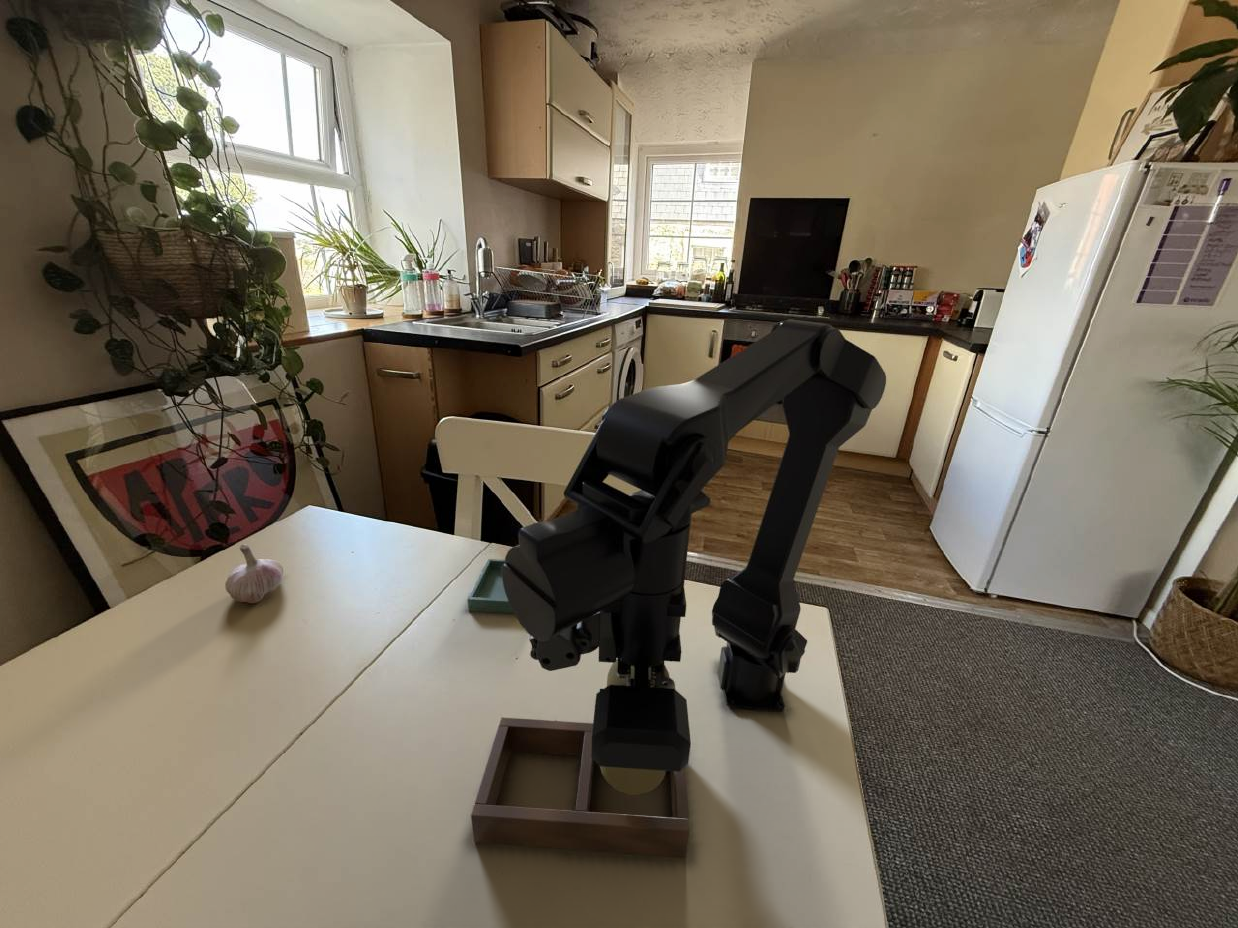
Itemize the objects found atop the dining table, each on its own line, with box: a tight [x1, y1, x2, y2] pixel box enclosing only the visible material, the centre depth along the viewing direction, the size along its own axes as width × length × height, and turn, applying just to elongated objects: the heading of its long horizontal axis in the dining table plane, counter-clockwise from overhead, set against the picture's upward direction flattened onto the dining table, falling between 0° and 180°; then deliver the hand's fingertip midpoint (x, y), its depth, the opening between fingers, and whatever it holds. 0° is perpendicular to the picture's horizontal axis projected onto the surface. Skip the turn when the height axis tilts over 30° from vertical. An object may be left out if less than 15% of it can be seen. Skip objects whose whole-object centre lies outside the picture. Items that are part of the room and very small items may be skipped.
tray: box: [467, 558, 514, 614], centre depth 73 cm, size 10×10×2 cm
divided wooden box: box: [470, 716, 691, 858], centre depth 45 cm, size 18×10×4 cm, turn 87°
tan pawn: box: [599, 658, 671, 796], centre depth 42 cm, size 6×6×11 cm
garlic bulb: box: [224, 543, 285, 604], centre depth 70 cm, size 8×7×8 cm
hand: (635, 723), depth 42 cm, fingers closed on tan pawn, 4 cm apart
